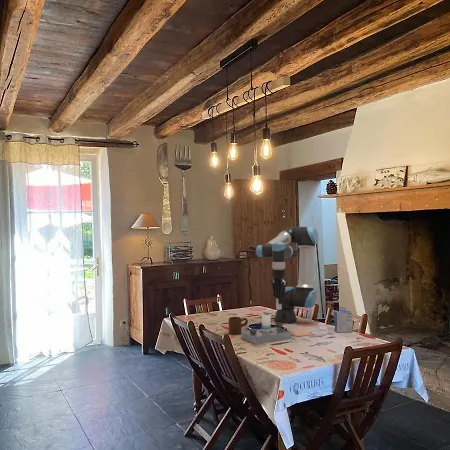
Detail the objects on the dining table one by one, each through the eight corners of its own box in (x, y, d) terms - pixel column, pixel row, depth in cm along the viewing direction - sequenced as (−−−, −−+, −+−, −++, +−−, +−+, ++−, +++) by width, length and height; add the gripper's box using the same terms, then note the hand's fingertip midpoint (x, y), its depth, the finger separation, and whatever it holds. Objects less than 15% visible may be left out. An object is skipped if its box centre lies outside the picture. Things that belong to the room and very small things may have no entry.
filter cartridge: (260, 338, 259) (260, 312, 259) (267, 337, 262) (267, 311, 262) (265, 340, 255) (264, 313, 255) (272, 339, 257) (272, 313, 257)
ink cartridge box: (349, 330, 279) (348, 306, 279) (352, 332, 273) (352, 308, 273) (333, 330, 277) (333, 307, 277) (337, 332, 272) (336, 308, 272)
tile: (285, 333, 272) (285, 332, 272) (301, 330, 278) (301, 329, 278) (298, 337, 261) (297, 336, 261) (314, 334, 267) (314, 333, 267)
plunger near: (248, 338, 255) (248, 329, 255) (254, 337, 257) (254, 328, 257) (251, 339, 251) (251, 330, 251) (257, 339, 253) (257, 329, 253)
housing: (242, 338, 259) (242, 331, 259) (276, 333, 270) (276, 327, 270) (255, 344, 246) (255, 336, 246) (290, 338, 258) (290, 331, 258)
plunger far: (274, 332, 263) (274, 323, 263) (280, 331, 265) (280, 322, 265) (278, 333, 260) (278, 324, 260) (284, 332, 262) (284, 323, 262)
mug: (246, 331, 278) (246, 316, 278) (249, 334, 270) (249, 318, 270) (227, 332, 275) (227, 317, 275) (230, 335, 267) (230, 319, 267)
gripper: (267, 268, 267) (267, 308, 266) (279, 270, 255) (280, 311, 255) (277, 267, 270) (277, 307, 270) (290, 269, 259) (290, 310, 258)
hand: (278, 309), depth 262 cm, fingers closed
